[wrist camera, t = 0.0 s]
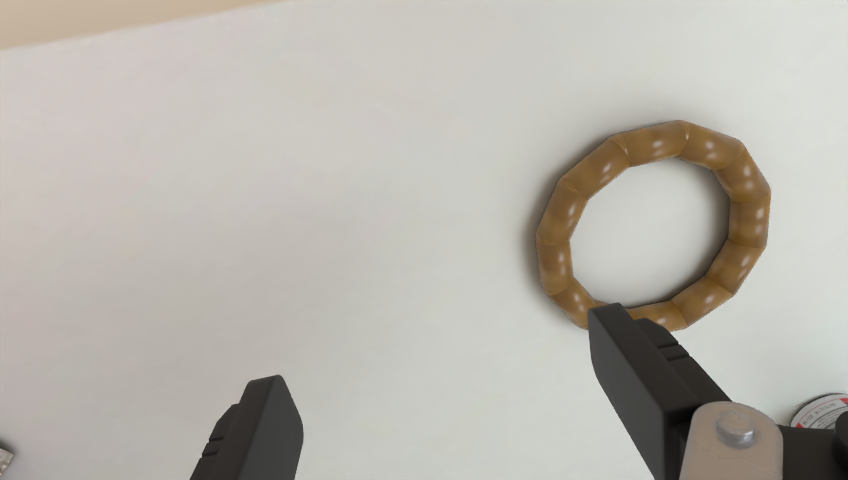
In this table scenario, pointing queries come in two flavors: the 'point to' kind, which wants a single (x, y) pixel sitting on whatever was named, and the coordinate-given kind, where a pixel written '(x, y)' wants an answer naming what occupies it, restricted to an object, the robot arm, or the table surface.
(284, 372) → the table surface
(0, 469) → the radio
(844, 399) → the pill bottle
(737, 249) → the ring
